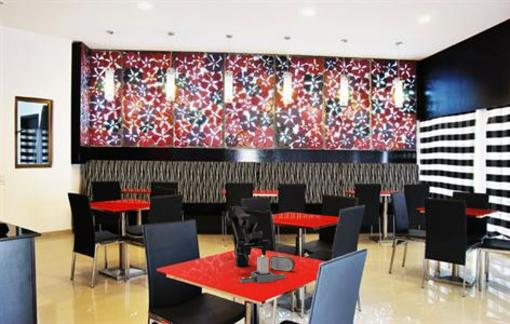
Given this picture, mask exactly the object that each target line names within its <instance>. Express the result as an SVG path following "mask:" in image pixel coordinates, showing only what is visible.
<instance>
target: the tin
mask: <svg viewBox="0 0 510 324" xmlns="http://www.w3.org/2000/svg"><path fill="white" fill-rule="evenodd" d="M268 266H269V267H270V268H271V270H273V271H276V272H277V271H279V272H285V273H289V272H292V271H293V270H294V269H295V268H296V261H295V259H294V258H293V257H291V256H290V255H281V254H274V255H272V256H271V257H270V258H269V259H268Z"/></svg>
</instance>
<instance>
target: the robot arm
mask: <svg viewBox="0 0 510 324" xmlns="http://www.w3.org/2000/svg"><path fill="white" fill-rule="evenodd" d="M225 218H226V220H227V221H228V223H230V224H231V225H232V229H233V232H234V235H235V239H236V245H235V248H234V251H233V253H234V255H235V264H234V265H235V266H236V267H238V268H242V267H250V264H249V260H250V257H249V256H251V254H252V248H260V249H261V255H266V254H267V253H266V252H267V251H268V250H269V248H270V246H271V240H269V239H263V240H262V241H261V242H259V241H260V239H261V238H263V237H264V234H263V231H262V230H259V231H257V232H255V229H256V227H257V225H258V223H259V218H258V217H257V216H255V215H254V214H253V213H250V214H248V213H246V212H245V211H244V210H243V209H242V206H241V205H233V206H232V207H231V208H229V209H228V210H227V211H226V213H225ZM242 227H243V229H242ZM266 256H267V255H266Z"/></svg>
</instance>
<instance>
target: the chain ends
mask: <svg viewBox="0 0 510 324" xmlns="http://www.w3.org/2000/svg"><path fill="white" fill-rule="evenodd" d="M286 277H287V276H286V275H285V274H284V273H278V274H275V273H273V272H271V271H270V270H268V275H258V274H257V270H254V271H251V272H250V276H248V277H244V276H242V277H239V278H238V279H239V282H240V283H241V284H244V283H245V284H246V283H247V284H249V283H256V282H257V283H256V284H262V283H271V282H272V283H273V282H275V281H276V280H278V281H279V280H286Z"/></svg>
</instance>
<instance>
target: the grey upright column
mask: <svg viewBox="0 0 510 324" xmlns="http://www.w3.org/2000/svg"><path fill="white" fill-rule="evenodd" d="M256 271H257V274H258V275H268V271H269V256H268V255H263V254H260V255H257V256H256Z"/></svg>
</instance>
